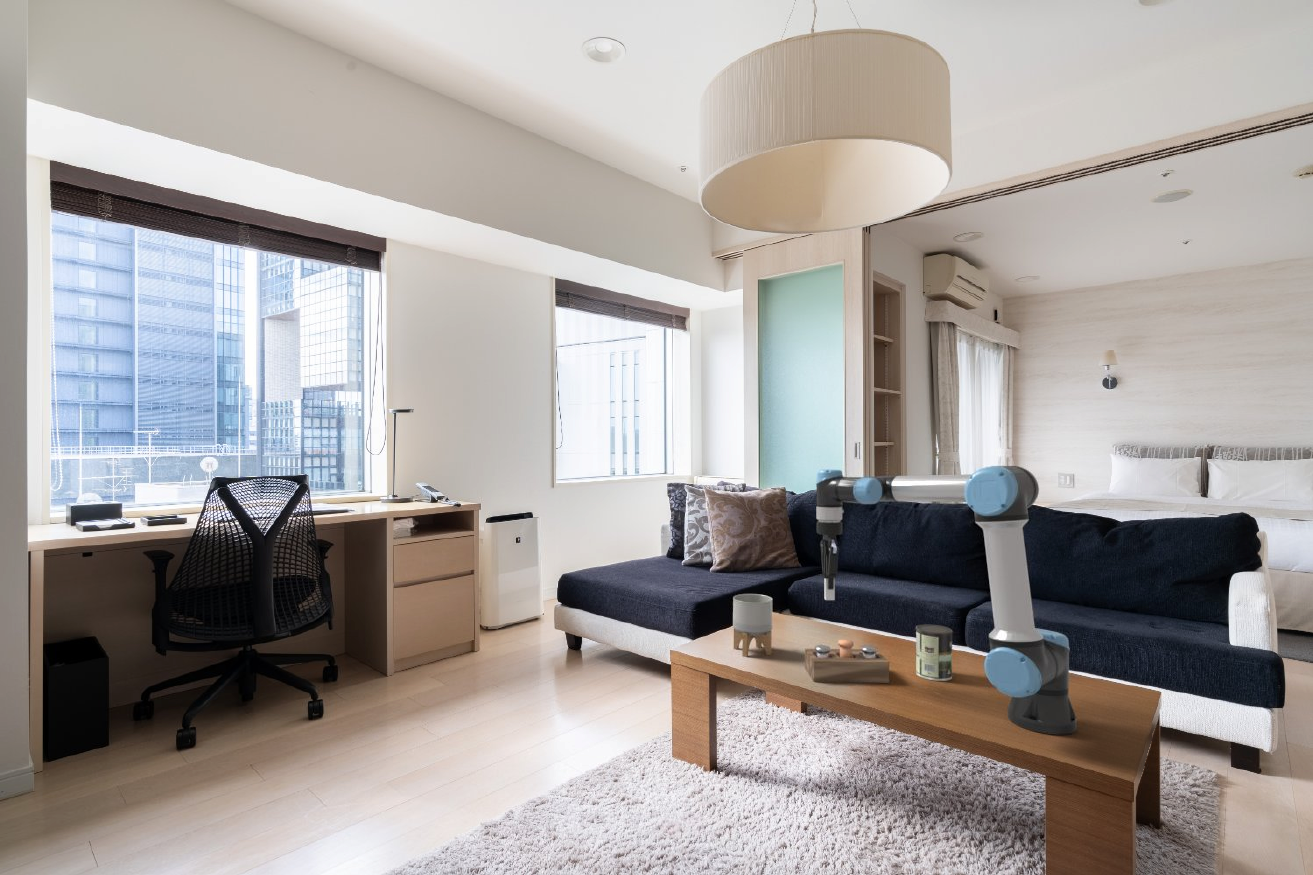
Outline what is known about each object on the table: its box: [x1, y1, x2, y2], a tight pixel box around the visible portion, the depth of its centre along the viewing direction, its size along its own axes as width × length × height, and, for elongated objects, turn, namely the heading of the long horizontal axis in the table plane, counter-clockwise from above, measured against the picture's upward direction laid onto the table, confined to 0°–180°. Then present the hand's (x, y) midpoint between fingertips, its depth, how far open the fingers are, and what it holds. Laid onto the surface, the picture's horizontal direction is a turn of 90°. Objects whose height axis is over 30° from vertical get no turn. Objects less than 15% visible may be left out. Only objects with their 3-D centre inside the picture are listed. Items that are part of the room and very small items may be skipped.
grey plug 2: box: [860, 645, 878, 658], centre depth 202 cm, size 4×4×7 cm
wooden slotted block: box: [804, 648, 890, 684], centre depth 202 cm, size 12×22×6 cm, turn 90°
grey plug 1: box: [814, 644, 831, 658], centre depth 202 cm, size 4×4×7 cm
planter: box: [732, 593, 773, 658], centre depth 224 cm, size 13×13×18 cm
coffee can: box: [915, 623, 954, 682], centre depth 202 cm, size 10×10×14 cm
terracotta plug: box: [837, 638, 855, 658], centre depth 202 cm, size 4×4×7 cm
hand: (829, 599), depth 201 cm, fingers closed
